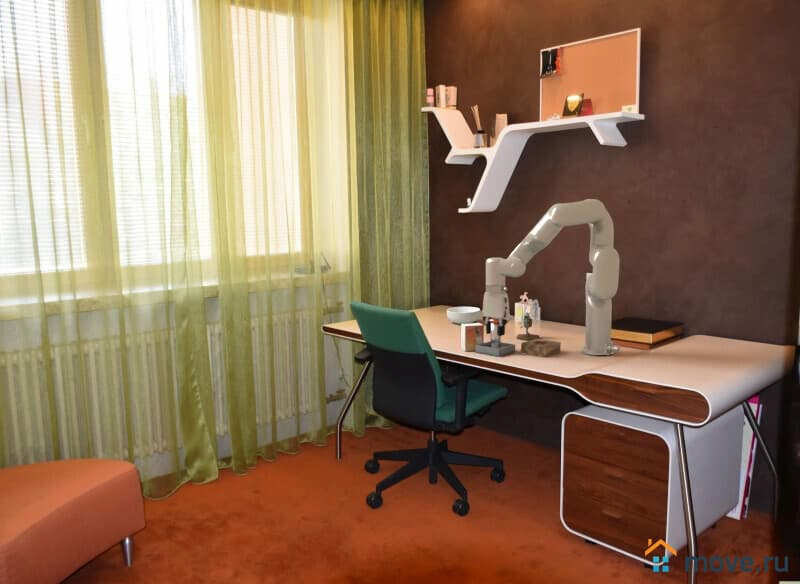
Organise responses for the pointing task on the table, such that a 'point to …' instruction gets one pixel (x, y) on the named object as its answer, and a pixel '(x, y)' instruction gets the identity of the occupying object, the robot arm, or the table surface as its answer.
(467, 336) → the small box
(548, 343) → the block
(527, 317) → the bonsai tree
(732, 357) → the table surface
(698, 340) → the table surface
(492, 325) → the pin
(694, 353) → the table surface
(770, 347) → the table surface
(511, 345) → the tray
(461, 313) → the cereal bowl
